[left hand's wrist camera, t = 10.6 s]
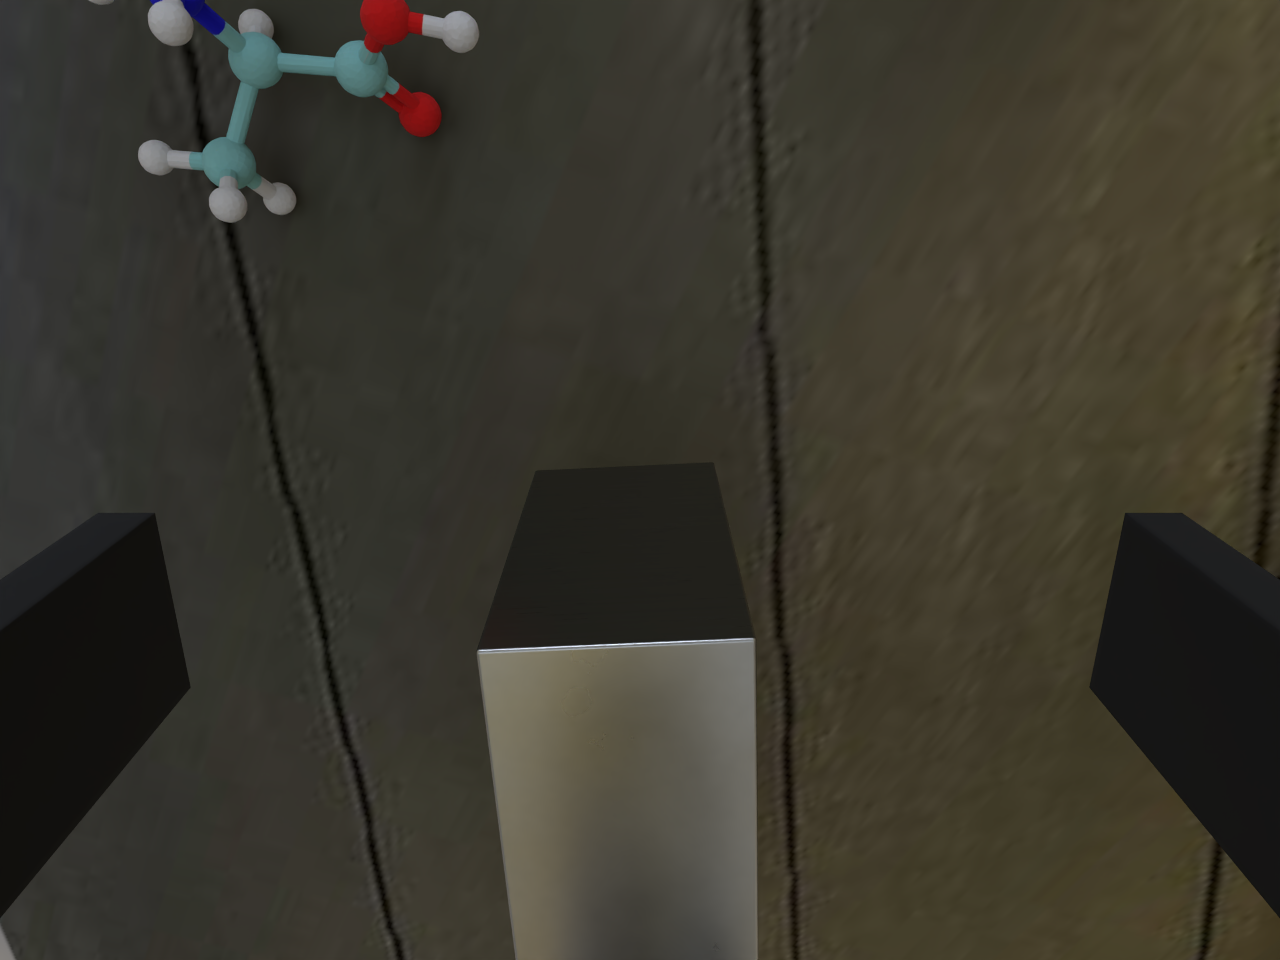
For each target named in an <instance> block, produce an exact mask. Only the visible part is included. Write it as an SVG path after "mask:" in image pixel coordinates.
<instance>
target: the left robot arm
mask: <svg viewBox="0 0 1280 960" xmlns="http://www.w3.org/2000/svg"><path fill="white" fill-rule="evenodd" d="M189 689H190V682H189V677H188V673H187V668H186V663H185V658H184V653H183V648H182V643H181V638H180V634H179V629H178V624H177V619H176V614H175V609H174V604H173V600H172V595H171V590H170V585H169V580H168V575H167V570H166V566H165V561H164V556H163V551H162V546H161V541H160V536H159V531H158V527H157V522H156V517H155V513H97V514H96V515H95V516H93V517H92V518H90V519H89V520H87V521H86V522H84V523H83V524H81V525H80V526H78V527H77V528H75V529H74V530H73V531H71V532H70V533H68V534H67V535H65V536H64V537H62V538H61V539H59V540H58V541H56V542H55V543H54V544H52V545H51V546H49V547H48V548H46V549H45V550H43V551H42V552H40V553H39V554H37V555H36V556H34V557H33V558H32V559H30V560H29V561H27V562H26V563H24V564H23V565H21V566H20V567H18V568H17V569H15V570H14V571H13V572H11V573H10V574H8V575H7V576H5V577H4V578H2V579H1V580H0V918H1V916H2V915H3V914H4V913H5V912H6V910H7V909H8V908H9V907H10V906H11V904H12V903H13V902H14V901H15V899H16V898H17V897H18V896H19V895H20V893H21V892H22V891H23V890H24V889H25V887H26V886H27V885H28V884H29V883H30V881H31V880H32V879H33V878H34V876H35V875H36V874H37V873H38V872H39V870H40V869H41V868H42V867H43V866H44V864H45V863H46V862H47V861H48V859H49V858H50V857H51V856H52V855H53V853H54V852H55V851H56V850H57V849H58V847H59V846H60V845H61V844H62V843H63V841H64V840H65V839H66V838H67V836H68V835H69V834H70V833H71V832H72V830H73V829H74V828H75V827H76V826H77V824H78V823H79V822H80V821H81V820H82V818H83V817H84V816H85V815H86V813H87V812H88V811H89V810H90V809H91V807H92V806H93V805H94V804H95V803H96V801H97V800H98V799H99V798H100V796H101V795H102V794H103V793H104V792H105V790H106V789H107V788H108V787H109V786H110V784H111V783H112V782H113V781H114V780H115V778H116V777H117V776H118V775H119V773H120V772H121V771H122V770H123V769H124V767H125V766H126V765H127V764H128V763H129V761H130V760H131V759H132V758H133V757H134V755H135V754H136V753H137V752H138V750H139V749H140V748H141V747H142V746H143V744H144V743H145V742H146V741H147V740H148V738H149V737H150V736H151V735H152V733H153V732H154V731H155V730H156V729H157V727H158V726H159V725H160V724H161V723H162V721H163V720H164V719H165V718H166V717H167V715H168V714H169V713H170V712H171V710H172V709H173V708H174V707H175V706H176V704H177V703H178V702H179V701H180V700H181V698H182V697H183V696H184V695H185V694H186V692H187V691H188V690H189ZM1090 689H1091V690H1092V691H1093V692H1094V694H1095V695H1096V696H1097V697H1098V698H1099V700H1100V701H1101V702H1102V703H1103V704H1104V706H1105V707H1106V708H1107V709H1108V710H1109V712H1110V713H1111V714H1112V715H1113V717H1114V718H1115V719H1116V720H1117V721H1118V723H1119V724H1120V725H1121V726H1122V727H1123V729H1124V730H1125V731H1126V732H1127V733H1128V735H1129V736H1130V737H1131V738H1132V740H1133V741H1134V742H1135V743H1136V744H1137V746H1138V747H1139V748H1140V749H1141V750H1142V752H1143V753H1144V754H1145V755H1146V757H1147V758H1148V759H1149V760H1150V761H1151V763H1152V764H1153V765H1154V766H1155V767H1156V769H1157V770H1158V771H1159V772H1160V773H1161V775H1162V776H1163V777H1164V778H1165V780H1166V781H1167V782H1168V783H1169V784H1170V786H1171V787H1172V788H1173V789H1174V790H1175V792H1176V793H1177V794H1178V795H1179V796H1180V798H1181V799H1182V800H1183V801H1184V803H1185V804H1186V805H1187V806H1188V807H1189V809H1190V810H1191V811H1192V812H1193V813H1194V815H1195V816H1196V817H1197V818H1198V820H1199V821H1200V822H1201V823H1202V824H1203V826H1204V827H1205V828H1206V829H1207V830H1208V832H1209V833H1210V834H1211V835H1212V836H1213V838H1214V839H1215V840H1216V841H1217V843H1218V844H1219V845H1220V846H1221V847H1222V849H1223V850H1224V851H1225V852H1226V853H1227V855H1228V856H1229V857H1230V858H1231V859H1232V861H1233V862H1234V863H1235V864H1236V866H1237V867H1238V868H1239V869H1240V870H1241V872H1242V873H1243V874H1244V875H1245V876H1246V878H1247V879H1248V880H1249V881H1250V883H1251V884H1252V885H1253V886H1254V887H1255V889H1256V890H1257V891H1258V892H1259V893H1260V895H1261V896H1262V897H1263V898H1264V899H1265V901H1266V902H1267V903H1268V904H1269V906H1270V907H1271V908H1272V909H1273V910H1274V912H1275V913H1276V914H1277V915H1278V916H1279V918H1280V580H1279V579H1278V578H1276V577H1275V576H1273V575H1272V574H1270V573H1269V572H1267V571H1266V570H1265V569H1263V568H1262V567H1260V566H1259V565H1257V564H1256V563H1254V562H1253V561H1251V560H1250V559H1248V558H1247V557H1246V556H1244V555H1243V554H1241V553H1240V552H1238V551H1237V550H1235V549H1234V548H1232V547H1231V546H1229V545H1228V544H1226V543H1225V542H1224V541H1222V540H1221V539H1219V538H1218V537H1216V536H1215V535H1213V534H1212V533H1210V532H1209V531H1207V530H1206V529H1205V528H1203V527H1202V526H1200V525H1199V524H1197V523H1196V522H1194V521H1193V520H1191V519H1190V518H1188V517H1187V516H1185V515H1184V514H1183V513H1125V517H1124V522H1123V527H1122V531H1121V536H1120V541H1119V546H1118V551H1117V556H1116V561H1115V566H1114V570H1113V575H1112V580H1111V585H1110V590H1109V595H1108V600H1107V604H1106V609H1105V614H1104V619H1103V624H1102V629H1101V634H1100V638H1099V643H1098V648H1097V653H1096V658H1095V663H1094V668H1093V673H1092V677H1091V682H1090Z"/></svg>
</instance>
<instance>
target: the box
mask: <svg viewBox="0 0 1280 960" xmlns="http://www.w3.org/2000/svg"><path fill="white" fill-rule="evenodd" d="M476 654H477V662H478V669H479V677H480V685H481V693H482V701H483V708H484V716H485V724H486V732H487V740H488V748H489V755H490V763H491V771H492V779H493V787H494V794H495V802H496V810H497V818H498V826H499V834H500V841H501V849H502V857H503V865H504V873H505V880H506V888H507V896H508V904H509V912H510V920H511V927H512V935H513V943H514V951H515V959H516V960H758V841H757V680H756V637H755V633H754V628H753V624H752V620H751V616H750V612H749V608H748V603H747V599H746V595H745V591H744V587H743V583H742V578H741V574H740V570H739V566H738V562H737V558H736V553H735V549H734V545H733V541H732V537H731V533H730V528H729V524H728V520H727V516H726V512H725V508H724V503H723V499H722V495H721V491H720V487H719V482H718V478H717V474H716V470H715V466H714V463H690V464H669V465H648V466H627V467H605V468H584V469H563V470H542V471H536V472H535V475H534V478H533V481H532V484H531V487H530V490H529V493H528V496H527V499H526V502H525V505H524V508H523V511H522V514H521V517H520V520H519V523H518V526H517V530H516V533H515V536H514V539H513V542H512V545H511V548H510V551H509V554H508V557H507V560H506V563H505V566H504V569H503V572H502V575H501V578H500V581H499V584H498V588H497V591H496V594H495V597H494V600H493V603H492V606H491V609H490V612H489V615H488V618H487V621H486V624H485V627H484V630H483V633H482V636H481V639H480V642H479V646H478V649H477V652H476Z"/></svg>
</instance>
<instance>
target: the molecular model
mask: <svg viewBox="0 0 1280 960" xmlns="http://www.w3.org/2000/svg"><path fill="white" fill-rule="evenodd" d="M89 1H91V2H93V3H95V4H99V5H103V4H110V3H112V2H114V1H115V0H89ZM150 1H151V2H152V4H153V6H152V7H151V8H150V10H149V13H148V22H149V27H150V29H151V31H152V32H153V34H154V35H155V36H156V37H157V38H158V39H159V40H160V41H161V42H163V43H165V44H167V45H171V46H178V45H183V44H185V43H187V42H188V41H189V40H190V39H191V37H192V34H193V30H194V29H193V21H192V18H191V17H193V18H194V19H195V20H197V21H198V22H199V23H200V24H201V25H202V26H204V27H205V28H206V29H207V30H208V31H209V32H211V33H212V34H213V35H214V36H215V37H216V38H218V39H219V40H220V41H221V42H222V43H223V44H225V45H226V46H227V47H228V48H229V54H228V59H229V63H230V67H231V69H232V71H233V72H234V74H235V75H236V76H237V78H239V79H240V80H241V83H240V87H239V91H238V94H237V98H236V102H235V106H234V110H233V113H232V117H231V121H230V125H229V129H228V132H227V136H226V137H220V138H217V139H214V140H212V141H211V142H210V143H208V144H207V145H206V147H205V148H204V150H203V153H201V152H189V151H177V150H172V149H171V148H170V147H169V146H168V145H167V144H166V143H164V142H162V141H158V140H150V141H147V142H145V143H143V144H142V145H141V146H140V148H139V152H138V157H139V161H140V163H141V165H142V166H143V168H144V169H145V170H146V171H148V172H150V173H152V174H156V175H164V174H167V173H169V172H171V171H172V170H173V168H183V169H194V170H204V172H205V174H206V175H207V177H208V178H209V179H210V180H211V181H212V182H213V183H214V184H215V185H217V186H219V188H217V189H215V190H214V191H213V192H212V193H211V195H210V198H209V206H210V209H211V211H212V213H213V214H214V215H215V216H216V217H217V218H218V219H219V220H222V221H225V222H231V223H232V222H236V221H238V220H240V219H242V218H243V217H244V215H245V214H246V212H247V201H246V199H245V197H244V195H243V194H242V193H241V192H240V191H239V190H238V189H241V188H243V187H245V186H248V187H249V188H251V189H252V190H254V191H255V192H257V193H258V194H260V195H261V196H262V197H263V201H264V204H265V206H266V207H267V208H268V209H269V210H270V211H271V212H272V213H275V214H279V215H285V214H287V213H290V212H291V211H292V210H293V209H294V207H295V204H296V196H295V194H294V192H293V190H292V189H291V188H290V187H289V186H288V185H286V184H283V183H278V182H277V183H273V184H271V183H270V182H269V181H267V180H266V179H264V178H263V177H262V176H260V175H259V174H257V173H256V162H255V158H254V156H253V154H252V152H251V151H250V149H249V148H248V147H247V146H246V145H245V144H244V142H245V139H246V135H247V131H248V128H249V124H250V120H251V116H252V112H253V109H254V105H255V101H256V98H257V94H258V90H259V89H265V88H268V87H271V86H273V85H274V84H276V83H277V82H278V81H279V80H280V78H281V77H282V75H283V72H288V73H301V74H312V75H324V76H336V77H337V79H338V82H339V83H340V84H341V86H342V87H343V88H344V89H345V90H346V91H348V92H349V93H351V94H353V95H355V96H358V97H369V96H373V95H375V96H377V97H378V98H379V99H381V100H382V101H383V102H385V103H386V104H387V105H389V106H390V107H391V108H393V109H394V110H395V111H397V112H398V113H399V119H400V122H401V124H402V125H403V127H404V128H405V129H406V131H408V132H409V133H410V134H412V135H415V136H418V137H425V136H429V135H431V134H433V133H434V132H435V131H436V130H437V129H438V127H439V125H440V123H441V116H442V114H441V110H440V107H439V105H438V103H437V102H436V101H435V99H434V98H433V97H431V96H430V95H428V94H426V93H422V92H416V93H410V92H409V91H408V90H407V89H405V88H404V87H403V86H402V85H400V84H399V83H398V82H396V81H395V80H394V79H393V78H391V77H390V76H389V75H388V67H387V63H386V60H385V58H384V56H383V54H382V53H381V50H382V48H383V46H384V44H385V45H393V44H395V43H398V42H400V41H402V40H403V39H404V38H405V37H406V36H407V34H408V32H409V33H414V34H420V35H425V36H430V37H435V38H440V39H443V41H444V43H445V44H446V45H447V46H448V47H449V48H450V49H451V50H453V51H455V52H458V53H465V52H467V51H469V50H471V49H473V48H474V46H475V45H476V43H477V41H478V38H479V30H478V26H477V23H476V21H475V20H474V19H473V18H472V17H471V16H470V15H469V14H467V13H465V12H462V11H456V12H452V13H450V14H448V15H447V16H446V17H445V18H439V17H434V16H429V15H424V14H419V13H414V12H410V10H409V7H408V5H407V4H406V3H405V1H404V0H364V1H363V3H362V6H361V9H360V18H361V22H362V25H363V28H364V29H365V31H366V32H367V35H366V37H365V39H364V41H361V40H358V41H350V42H348V43H346V44H344V45H343V46H342V47H341V48H340V49H339V51H338V52H337V53H336V56H335V58H333V57H321V56H310V55H299V54H287V53H282V52H281V50H280V48H279V47H278V45H277V44H276V43H275V42H274V40H272V37H273V33H274V27H273V23H272V21H271V19H270V18H269V17H268V16H267V15H266V14H265V13H264V12H263V11H261V10H258V9H248V10H246V11H244V12H243V13H242V14H241V15H240V18H239V21H238V27H239V31H240V33H241V34H239V33H238V32H237V31H236V30H235V29H234V28H232V27H231V26H230V25H229V24H228V23H227V22H226V21H225V20H223V19H222V18H221V17H220V16H219V15H218V14H217V13H215V12H214V11H213V10H212V9H211V8H210V7H209V6H208V5H206V4H205V3H204V2H205V0H150Z"/></svg>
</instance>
